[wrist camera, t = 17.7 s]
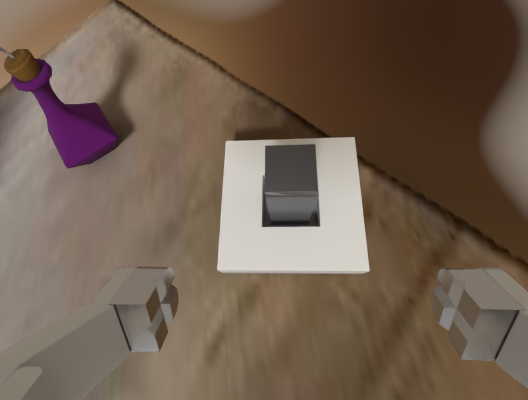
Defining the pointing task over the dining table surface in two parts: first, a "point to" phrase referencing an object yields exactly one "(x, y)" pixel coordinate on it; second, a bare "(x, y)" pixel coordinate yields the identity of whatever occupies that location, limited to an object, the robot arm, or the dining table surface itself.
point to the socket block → (300, 235)
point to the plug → (290, 183)
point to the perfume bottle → (63, 113)
